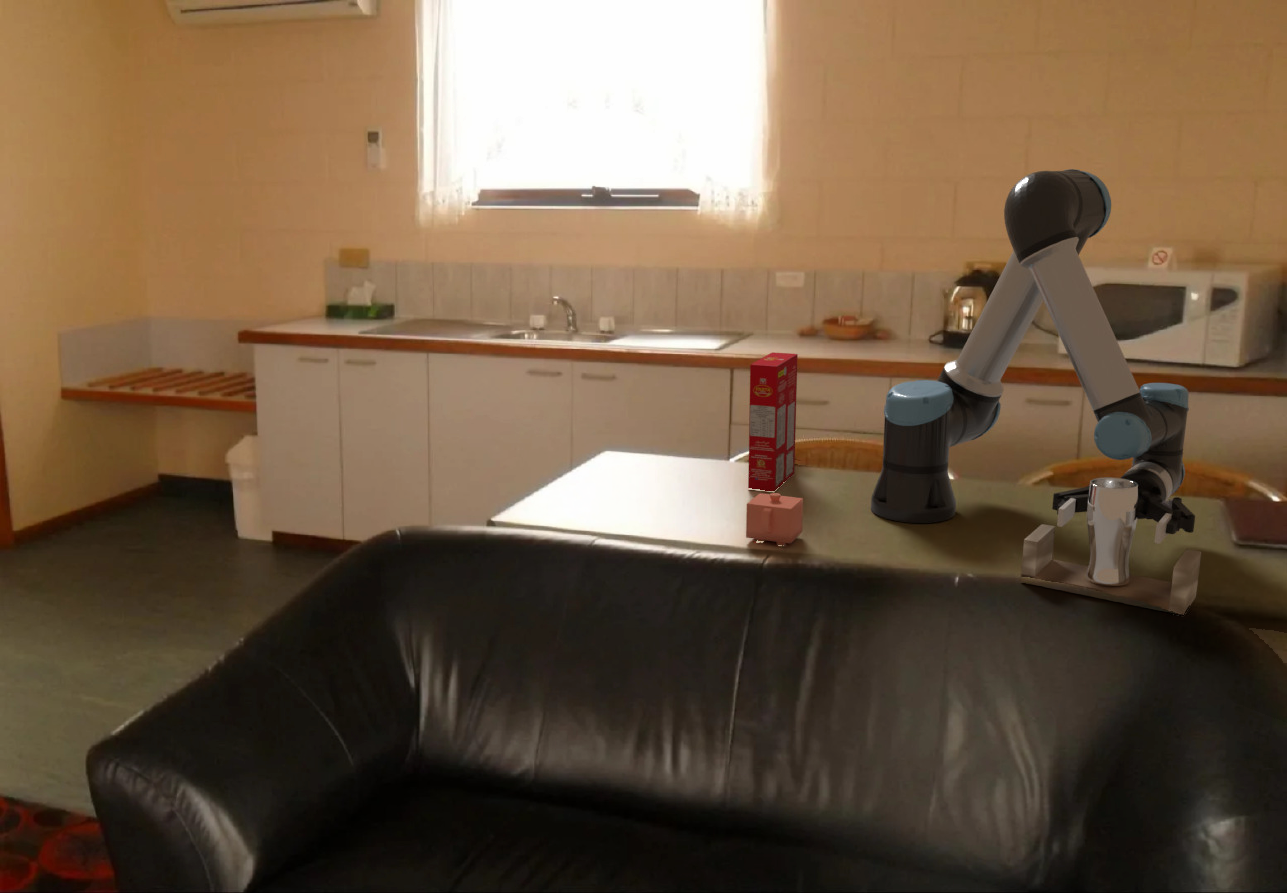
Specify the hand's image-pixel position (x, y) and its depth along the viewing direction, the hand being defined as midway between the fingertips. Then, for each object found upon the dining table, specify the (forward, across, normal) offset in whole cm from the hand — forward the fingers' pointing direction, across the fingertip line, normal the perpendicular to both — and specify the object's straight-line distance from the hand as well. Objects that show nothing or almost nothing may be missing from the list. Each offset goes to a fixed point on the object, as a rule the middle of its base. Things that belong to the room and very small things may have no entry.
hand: (1108, 525), depth 165 cm
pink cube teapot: (+4, +52, -11) cm, 54 cm away
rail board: (-3, 0, -11) cm, 11 cm away
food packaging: (-26, +70, -11) cm, 76 cm away
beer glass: (-3, 0, -10) cm, 10 cm away
